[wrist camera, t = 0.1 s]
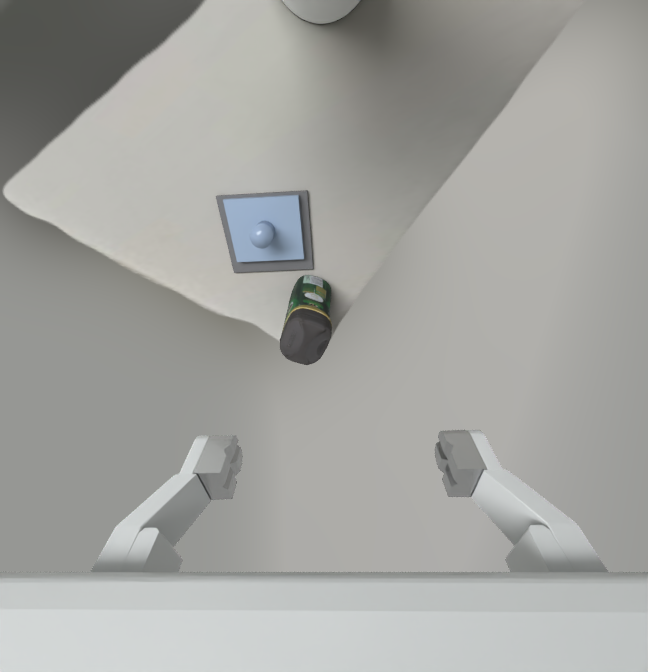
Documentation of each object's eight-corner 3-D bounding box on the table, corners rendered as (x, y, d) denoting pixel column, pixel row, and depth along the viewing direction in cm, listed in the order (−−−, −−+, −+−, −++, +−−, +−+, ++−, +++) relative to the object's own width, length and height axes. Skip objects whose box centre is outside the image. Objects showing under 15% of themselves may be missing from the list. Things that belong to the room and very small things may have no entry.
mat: (216, 195, 50) (215, 196, 50) (307, 190, 49) (307, 190, 49) (234, 271, 58) (234, 272, 57) (313, 268, 57) (313, 269, 57)
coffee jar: (319, 319, 64) (316, 374, 48) (286, 307, 62) (271, 361, 47) (336, 282, 59) (339, 330, 43) (300, 268, 57) (289, 313, 42)
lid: (224, 198, 50) (213, 204, 45) (298, 194, 49) (295, 199, 44) (238, 260, 56) (230, 270, 51) (304, 257, 55) (302, 267, 51)
